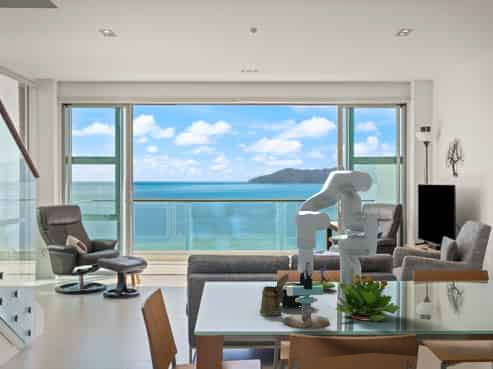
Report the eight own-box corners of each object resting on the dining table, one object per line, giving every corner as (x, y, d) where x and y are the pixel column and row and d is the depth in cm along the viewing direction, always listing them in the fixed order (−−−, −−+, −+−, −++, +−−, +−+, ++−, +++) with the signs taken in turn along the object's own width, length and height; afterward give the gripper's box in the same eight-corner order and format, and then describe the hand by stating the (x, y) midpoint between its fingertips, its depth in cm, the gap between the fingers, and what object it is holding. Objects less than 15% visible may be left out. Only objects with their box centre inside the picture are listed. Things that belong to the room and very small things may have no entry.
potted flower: (346, 326, 233) (346, 281, 233) (321, 313, 256) (321, 272, 256) (403, 322, 240) (403, 278, 240) (374, 309, 263) (374, 269, 263)
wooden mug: (280, 319, 246) (280, 275, 246) (255, 314, 255) (255, 271, 254) (293, 315, 253) (293, 272, 252) (268, 310, 261) (268, 269, 261)
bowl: (314, 303, 276) (314, 281, 276) (307, 311, 260) (307, 288, 260) (277, 301, 281) (278, 279, 281) (269, 309, 264) (269, 286, 264)
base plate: (324, 317, 249) (324, 297, 249) (333, 328, 231) (333, 307, 231) (280, 317, 248) (280, 298, 248) (287, 328, 230) (287, 308, 230)
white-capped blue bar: (321, 300, 243) (321, 284, 243) (324, 303, 237) (324, 287, 237) (286, 300, 242) (286, 285, 242) (288, 303, 236) (288, 287, 236)
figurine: (336, 293, 301) (337, 263, 300) (311, 292, 301) (311, 262, 301) (333, 287, 314) (333, 259, 314) (309, 287, 315) (309, 259, 315)
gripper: (293, 241, 247) (293, 283, 247) (300, 246, 230) (300, 291, 230) (311, 242, 248) (311, 283, 248) (319, 246, 231) (319, 291, 231)
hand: (305, 287), depth 239 cm, fingers open, 9 cm apart
